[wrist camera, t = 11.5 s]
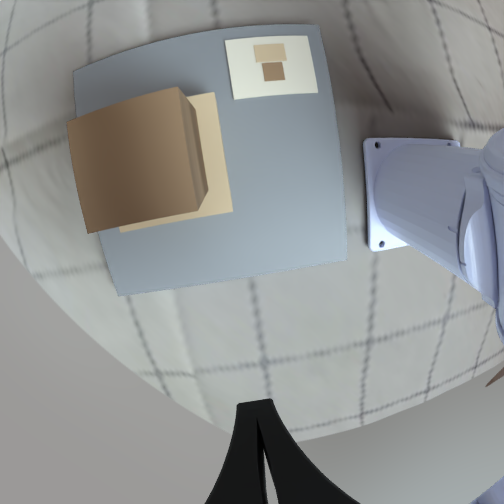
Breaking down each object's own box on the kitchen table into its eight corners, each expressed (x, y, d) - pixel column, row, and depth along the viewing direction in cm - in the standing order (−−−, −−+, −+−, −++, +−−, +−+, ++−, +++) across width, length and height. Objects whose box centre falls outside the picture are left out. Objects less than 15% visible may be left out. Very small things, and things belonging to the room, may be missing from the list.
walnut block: (195, 109, 12) (177, 86, 7) (208, 189, 13) (197, 211, 9) (117, 129, 12) (66, 122, 7) (131, 205, 13) (87, 233, 8)
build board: (314, 30, 14) (334, 5, 10) (341, 254, 19) (365, 278, 16) (80, 74, 13) (50, 61, 10) (122, 289, 19) (103, 319, 15)
